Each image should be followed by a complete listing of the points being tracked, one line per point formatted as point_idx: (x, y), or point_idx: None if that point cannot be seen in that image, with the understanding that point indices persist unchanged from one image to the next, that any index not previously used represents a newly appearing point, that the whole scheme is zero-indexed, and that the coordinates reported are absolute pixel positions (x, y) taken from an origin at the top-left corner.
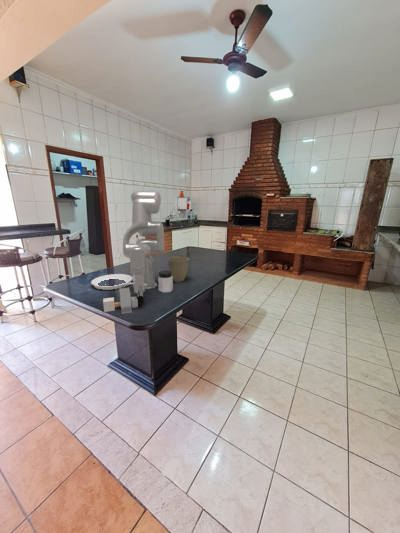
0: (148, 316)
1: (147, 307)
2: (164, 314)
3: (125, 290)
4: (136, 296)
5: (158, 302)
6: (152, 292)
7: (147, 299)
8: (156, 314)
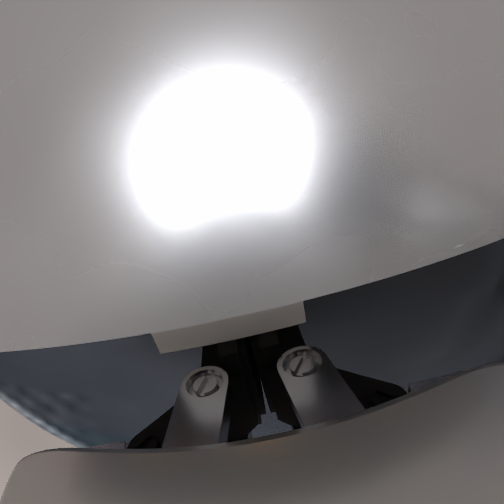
0: (20, 368)
1: (166, 369)
2: (75, 442)
3: (276, 34)
4: (292, 321)
5: (274, 428)
6: (483, 343)
7: (374, 344)
8: (60, 412)
